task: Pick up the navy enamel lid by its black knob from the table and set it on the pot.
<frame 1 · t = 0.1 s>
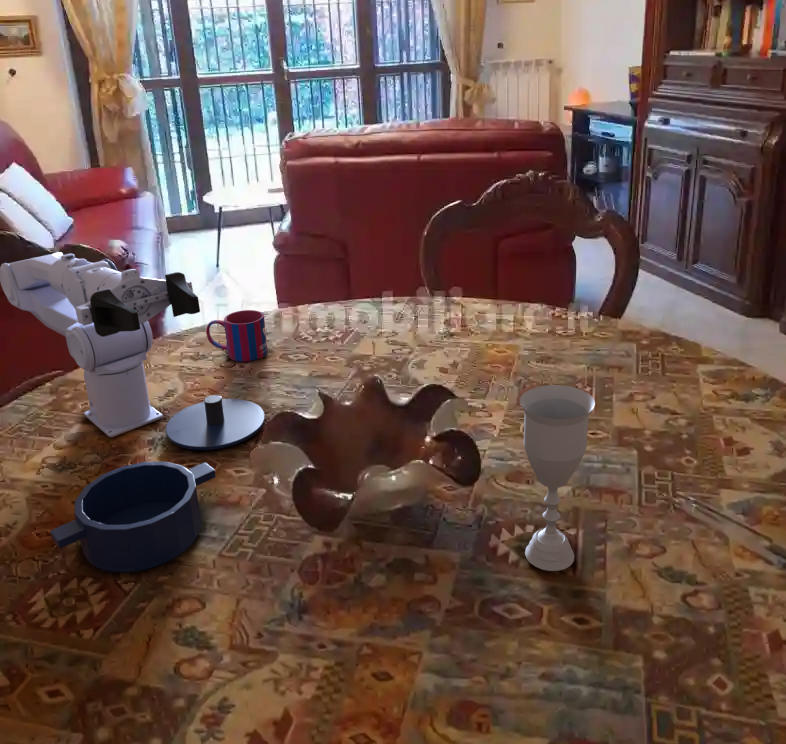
hand: (167, 313, 88), 22 cm above the table, tool horizontal, fingers open, 7 cm apart
chalice: (549, 556, 78), on the table
mug: (239, 354, 130), on the table
pot: (143, 533, 84), on the table
lid: (216, 424, 105), point 1 cm above the table
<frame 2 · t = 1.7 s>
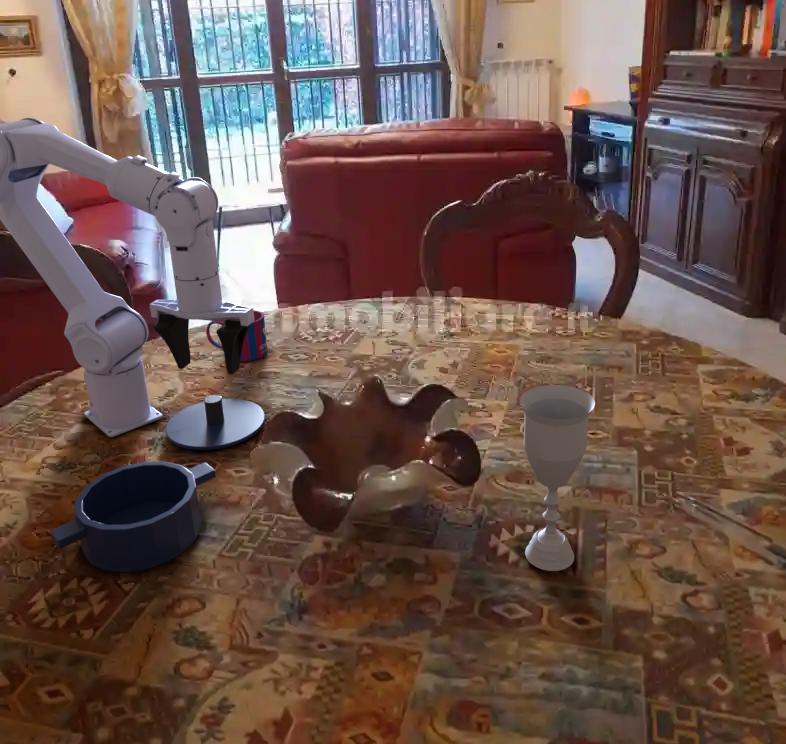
hand: (208, 368, 102), 9 cm above the table, tool pointing down, fingers open, 7 cm apart
nothing on the table moved.
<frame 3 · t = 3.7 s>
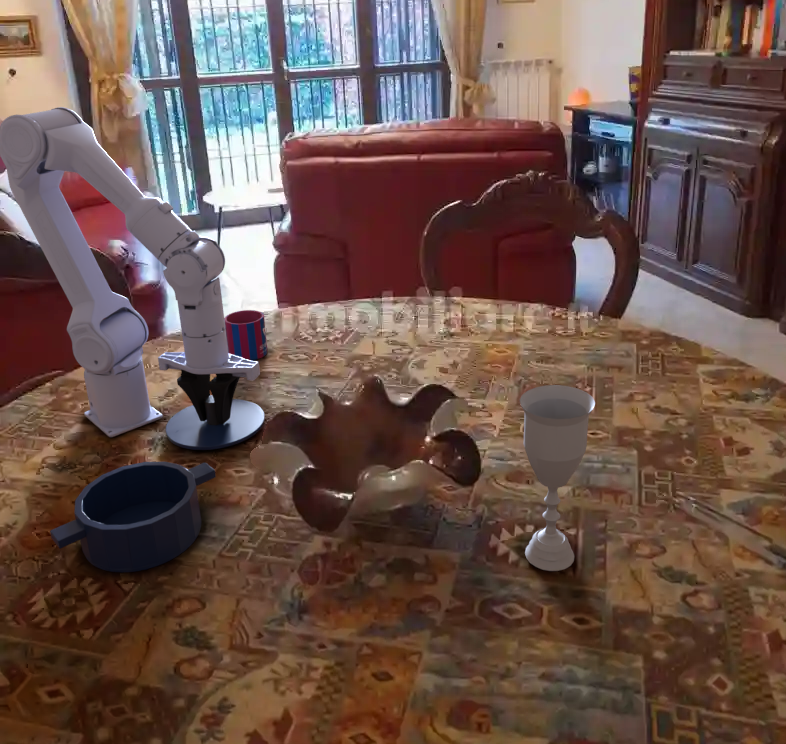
hand: (215, 419, 105), 1 cm above the table, tool pointing down, fingers closed on lid, 2 cm apart
lid: (216, 424, 105), point 1 cm above the table, touching gripper
everything else where it was.
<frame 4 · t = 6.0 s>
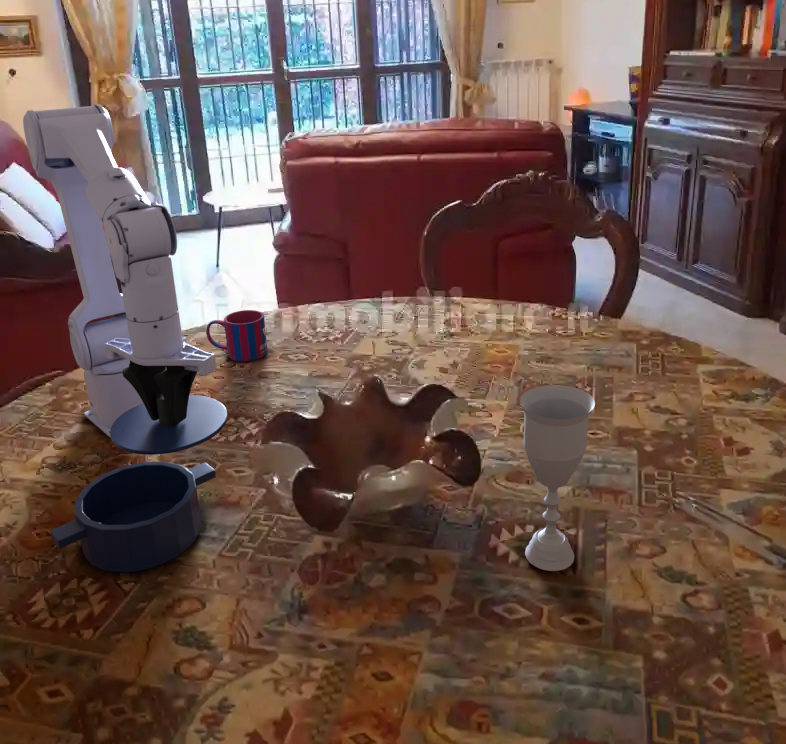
hand: (169, 418, 90), 9 cm above the table, tool pointing down, fingers closed on lid, 2 cm apart
lid: (170, 424, 90), point 8 cm above the table, touching gripper
everything else where it was.
when the fingers open (6 cm above the table, at t = 8.2 s): lid stays where it is, resting on pot.
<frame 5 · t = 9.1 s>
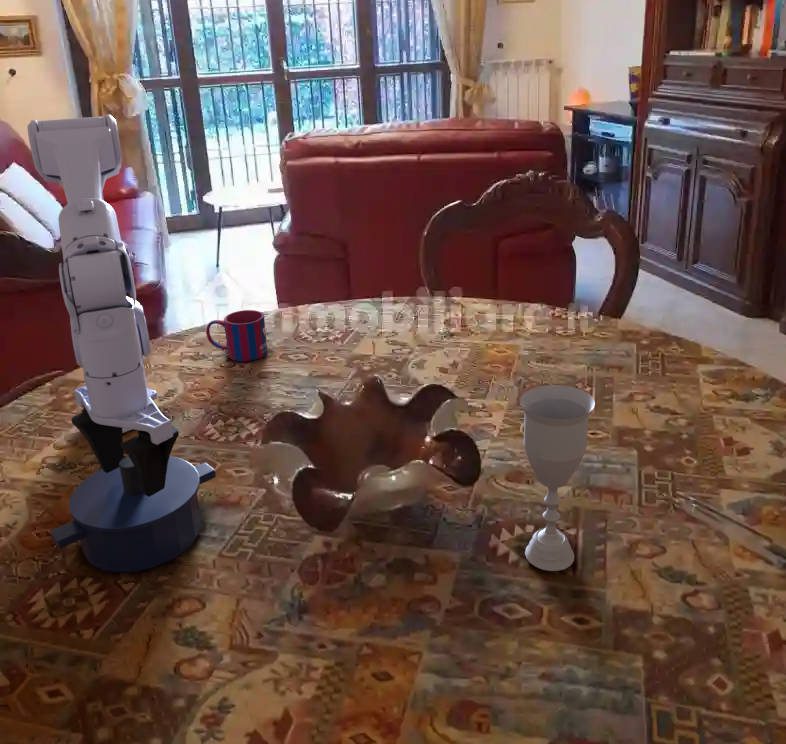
hand: (133, 479, 81), 7 cm above the table, tool pointing down, fingers open, 7 cm apart
lid: (136, 492, 82), point 5 cm above the table, touching pot
everything else where it was.
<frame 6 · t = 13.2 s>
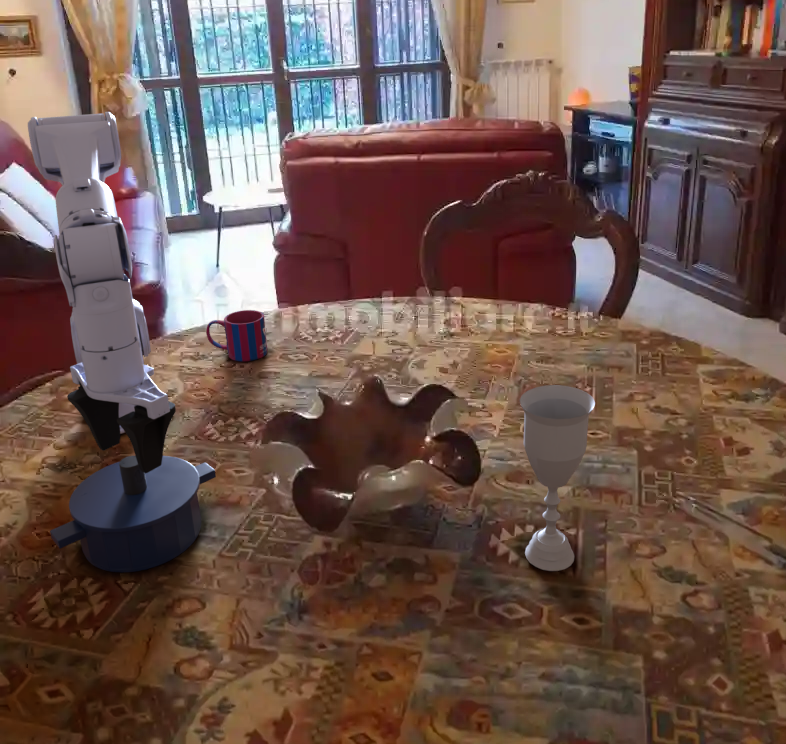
hand: (130, 456, 81), 10 cm above the table, tool pointing down, fingers open, 7 cm apart
nothing on the table moved.
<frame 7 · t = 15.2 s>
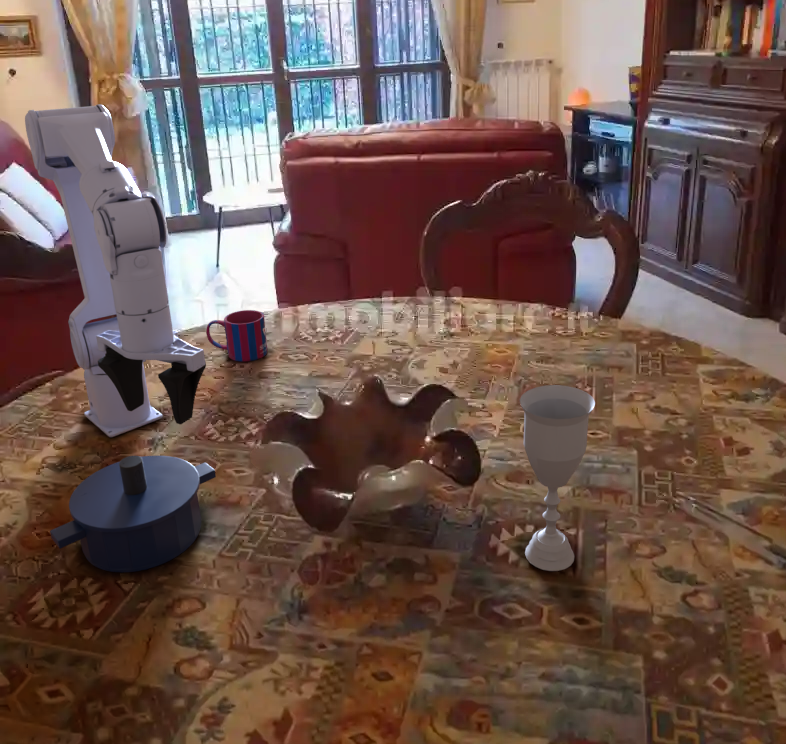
hand: (159, 413, 89), 10 cm above the table, tool pointing down, fingers open, 7 cm apart
nothing on the table moved.
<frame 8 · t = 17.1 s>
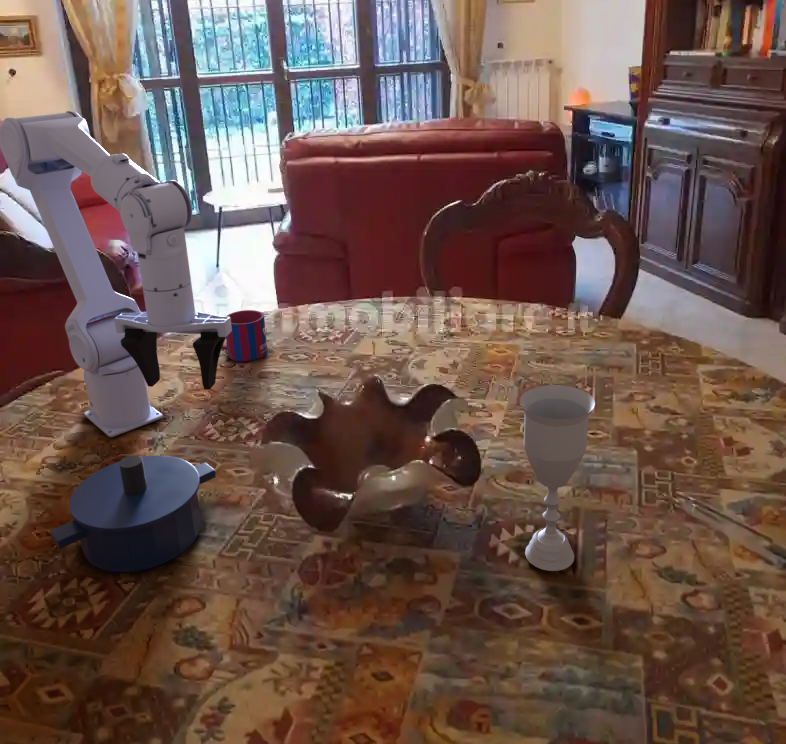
hand: (181, 384, 95), 10 cm above the table, tool pointing down, fingers open, 7 cm apart
nothing on the table moved.
at the end: lid 0.0 cm off-centre on the pot, point 5.4 cm above the pot's base; lid tilted 0° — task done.
